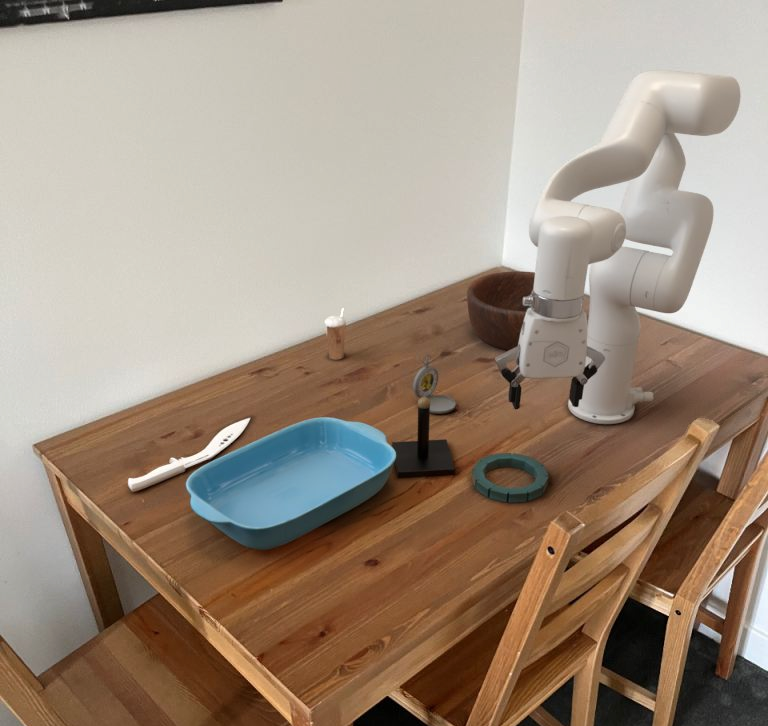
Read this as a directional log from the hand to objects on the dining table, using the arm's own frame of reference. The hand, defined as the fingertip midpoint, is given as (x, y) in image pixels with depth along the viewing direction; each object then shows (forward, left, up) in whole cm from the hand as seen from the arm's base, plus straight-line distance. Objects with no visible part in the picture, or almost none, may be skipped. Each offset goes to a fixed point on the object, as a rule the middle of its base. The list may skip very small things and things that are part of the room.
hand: (544, 404), depth 138 cm
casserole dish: (+41, +2, -15) cm, 44 cm away
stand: (+19, -8, -15) cm, 25 cm away
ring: (+5, 0, -15) cm, 15 cm away
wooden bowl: (-10, -59, -15) cm, 62 cm away
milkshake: (+32, -52, -15) cm, 62 cm away
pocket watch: (+14, -28, -15) cm, 34 cm away
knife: (+59, -14, -15) cm, 63 cm away
